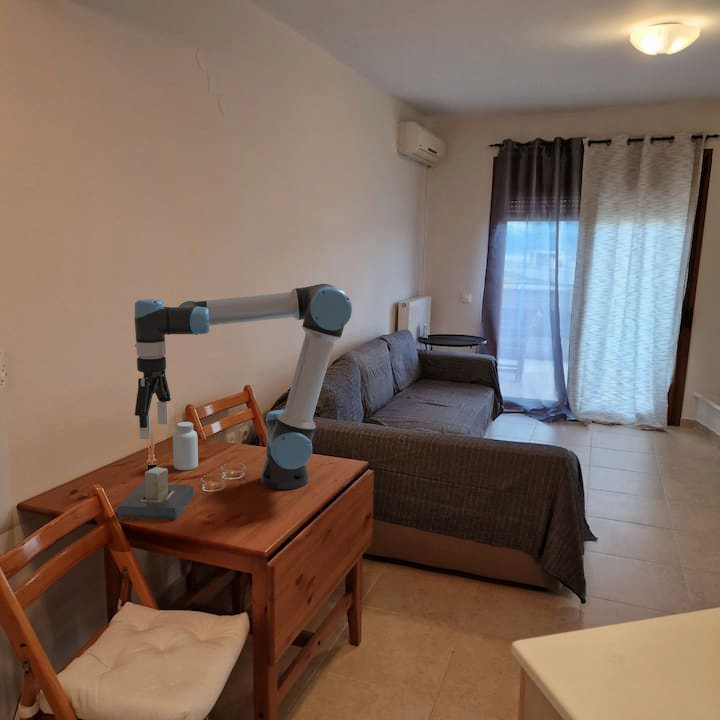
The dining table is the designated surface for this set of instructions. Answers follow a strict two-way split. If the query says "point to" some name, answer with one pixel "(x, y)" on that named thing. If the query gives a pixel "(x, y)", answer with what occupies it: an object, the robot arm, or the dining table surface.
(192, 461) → the pill bottle
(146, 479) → the box
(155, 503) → the base
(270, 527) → the dining table surface
